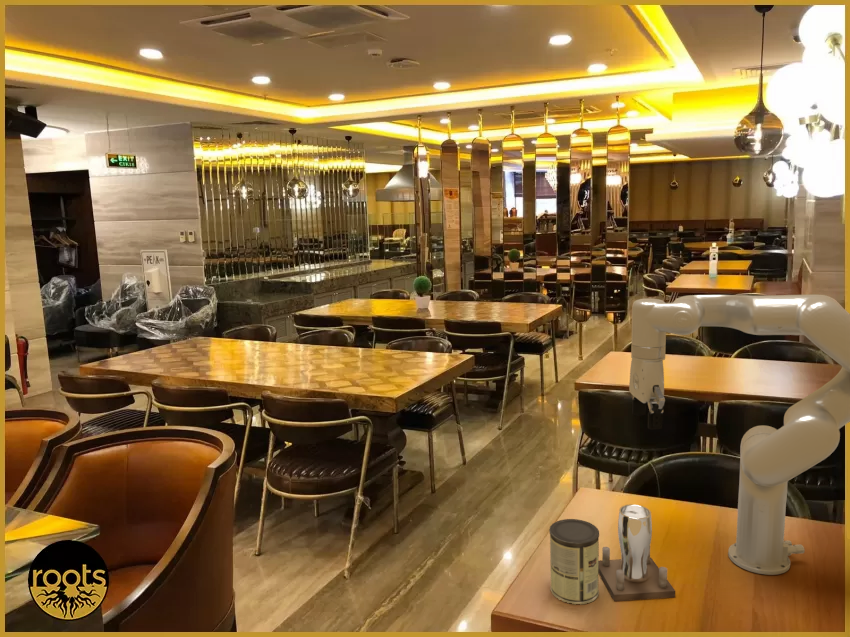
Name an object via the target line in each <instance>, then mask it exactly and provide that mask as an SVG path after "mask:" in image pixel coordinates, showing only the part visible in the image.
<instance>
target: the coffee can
mask: <svg viewBox="0 0 850 637" xmlns="http://www.w3.org/2000/svg"><path fill="white" fill-rule="evenodd" d="M599 537H600V530H599V528H598V527H597V526H595V524H593V523H592V522H589V521H586V520H582V519H577V518H564V519H561V520H557V521H555V522H554V523H552V524H551V525H550V526H549V544H550V545H549V548H550V550H549V551H550V555H549V556H550V557H549V558H550V562H549V563H550V591H551V594H552V595H553V597H554V598H556V599H557V598H558V599H557V600H559V601H560V600H562V601H561V602H563V603H565V602H567V603H566V604H569V603H572V604H571V605H576V604H580V605H587V603H588V604H589V603H592V602H594V601H595V600H597V598H598V597H599V594H600V592H599V573H598V561H599V557H600V556H599V542H600V541H599V540H600V539H599Z"/></svg>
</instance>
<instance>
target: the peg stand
mask: <svg viewBox="0 0 850 637" xmlns="http://www.w3.org/2000/svg"><path fill="white" fill-rule="evenodd" d="M601 553H602V555H601V556H602V557H601V558H602V559H601V560H600V559H599V560H598V576H599V577H600V576H601V577H600V579H601V580H602V581H603V583H604V586H605V585H606V586H605V588H606V589H607V591H608V593H609V595H610V596H611V598H612V601H613V602H623V601H624V602H626V601H639V600H640V599H641V601H642V600H653V599H657V600H658V599H669V598H676V590H675V588H674V586H673V585H672V584H671V582H670V581H669V580H668V568H667V567H665V566H660V567H659V566H658V565H657V564H656V562H655V560H653V558H652V557H651V547H650V548H649V552H648V557H647V569H648V575H649V577H648V579H647V580H646V581H644V582H640V583H635V582H630V581H627V580H625V579H624V571H623V570H620V566H621V560H622V558H620V559H611V548H610V547H608V546H603V547H602V552H601Z"/></svg>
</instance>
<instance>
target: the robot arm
mask: <svg viewBox="0 0 850 637" xmlns="http://www.w3.org/2000/svg"><path fill="white" fill-rule="evenodd" d="M700 327H719V328H721V327H723V328H730V329H734V330H738V331H741V332H743V333H745V334H749V335H754V336H755V335H756V336H790V335H791V336H805V338H807V339H808V340H809V341H810V342H811V343H812V344H814V345H815V346H816V347H817V348H818V349H820V350H821V351H822V352H823V353H824V354H826V355H827V356H828V357H830V359H833V360H834V361H835V363H837V364H839V365H840V366H841V369H840V370H839V371H838V373H837V374H836V375H835V376H834V377H832V379H831V380H829V381H828V382H826V383H825V384H823V385H822V386H821V387H819V388H818V389H816V390H815V391H813V392H811V393H810V394H808V395H807V396H806V397H804V398H802V399H801V400H799V401H797V402H795V404H794V403H793V405H791V406H790V407H789V408H787V410H786V411H785V413H784V416H783V425H782V426H781V427H780V428H778V429H777V428H775V427H772V426H769V425H756V426H753V427H752V428H749V429H748V430H747V431H746V432H745V433H744V434H743V436H742V438H741V441H740V450H739V451H740V452H739V455H740V460H739V482H738V483H739V485H738V499H737V502H738V503H737V516H736V536H735V537H736V539H735V540H736V541H735V543H732V544H731V545H730V546H729V547H728V552H727V555H728V558H729V559H730V561H731V562H732V563H733V564H735V565H736V566H738V567H739V568H741V569H743V570H746V571H748V572H750V573H754V574H757V575H758V574H759V575H768V576H776V575H782V574H784V573H786V572H788V571H789V569H790V567H791V560H790V556H791V555H792V554H795V555H798V554H799V555H800V554H801V555H802V554H805V547H804V546H803V545H802V544H793V543H792V541H791V540H785V526H786V525H785V524H786V513H787V512H786V509H787V508H786V507H787V496H788V482H789V481H791V480H792V479H793V478H796V477H797V476H799V475H801V474H802V473H804V472H806V471H808V470H809V469H810V468H813V467H814V466H816V465H817V464H819V463H821V462H822V461H825V460H826V459H827V458H828V457H830V456H831V454H832V453H834V452H835V450H836V449H837V447H838V446H839V443H840V439H841V438H840V437H841V432H840V429H841V428H843V427H844V426H845V425H847V424H848V423H850V313H849V312H848V311H847V310H846V309H845V308H844V307H843V306H842V305H841V304H840V303H839V302H838V301H837V300H836V299H835V298H833V297H831V296H829V295H826V294H785V295H784V294H781V295H778V294H776V295H772V294H771V295H747V294H743V295H741V294H739V295H738V294H737V295H734V294H694V295H693V294H692V295H691V294H690V295H683V296H680V297H678V298H676V299H675V300H673V302H665V301H664V300H662V299H659V298H640V299H636V300H635V301H633V303H632V308H631V349H630V350H631V351H630V352H631V353H630V354H631V362H630V371H629V382H628V383H629V384H628V385H629V386H628V389H629V393H630V394H631V398H632V402H631V404H632V407H631V414H632V416H634V417H638V416H646V415H647V429H648V430H662V429H663V415H664V409H665V402H666V398H665V372H664V371H665V370H664V360H665V359H666V347H667V346H666V342H667V341H666V339H667V338H666V337H667V333H669V334H674V335H680V336H684V335H685V336H687V335H691V334H694V333H695V332H696V331H697V330H698V329H699V328H700ZM653 404H654V405H653ZM647 406H648V409H649V410H648V411H649V412H647ZM646 412H647V413H646Z"/></svg>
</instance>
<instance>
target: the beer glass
mask: <svg viewBox="0 0 850 637" xmlns="http://www.w3.org/2000/svg"><path fill="white" fill-rule="evenodd" d="M618 512H619V513H618V520H617V522H618V523H617V535H618V542H619V549H620V554H621V559H622V560H621V566H620V570H623V571H624V579H625V580H627V581H630V582H635V583H640V582H644V581H646V580H647V579H648V577H649V575H648V569H647V557H648V552H649V548H650V549H651V544H652V532H653V526H652V525H653V523H652V511H651V510H650V509H649V508H648V507H645V506H643V505H639V504H625V505H622V506H621V507H619V510H618Z"/></svg>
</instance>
